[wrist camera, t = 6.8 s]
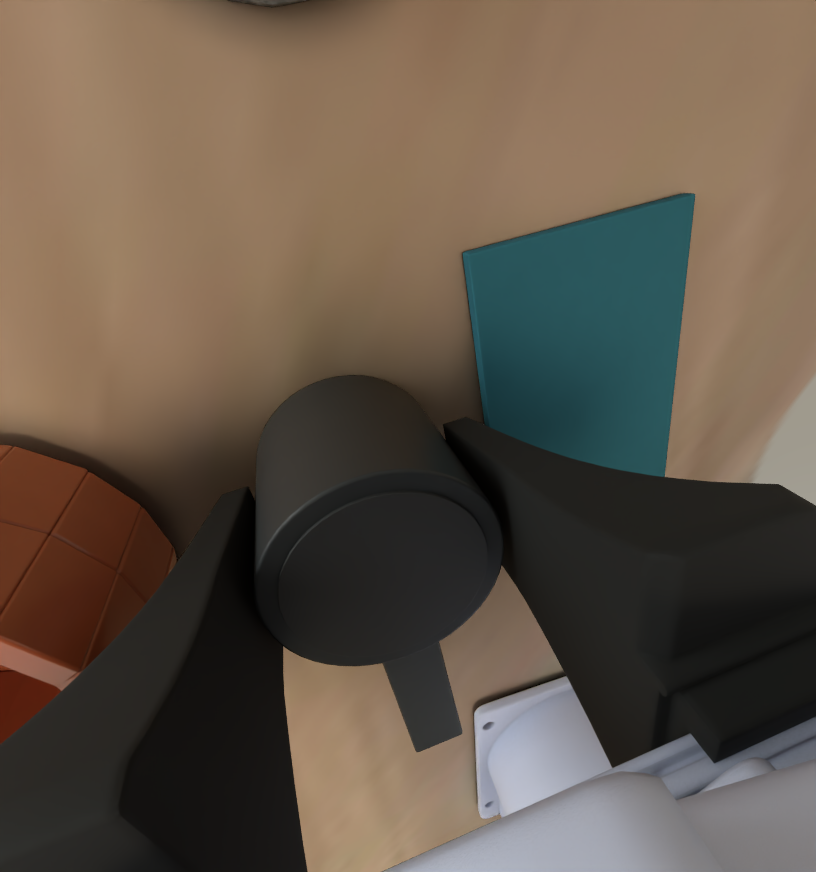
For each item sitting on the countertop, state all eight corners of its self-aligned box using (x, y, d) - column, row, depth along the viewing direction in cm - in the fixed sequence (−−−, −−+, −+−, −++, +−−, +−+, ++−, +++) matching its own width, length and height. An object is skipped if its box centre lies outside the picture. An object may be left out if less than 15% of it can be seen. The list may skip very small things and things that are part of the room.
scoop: (226, 407, 11) (206, 529, 7) (416, 351, 12) (494, 436, 8) (337, 653, 16) (362, 806, 12) (466, 605, 17) (530, 734, 13)
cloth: (498, 533, 15) (503, 541, 15) (461, 252, 11) (468, 254, 11) (656, 477, 16) (664, 483, 16) (683, 192, 12) (696, 192, 11)
